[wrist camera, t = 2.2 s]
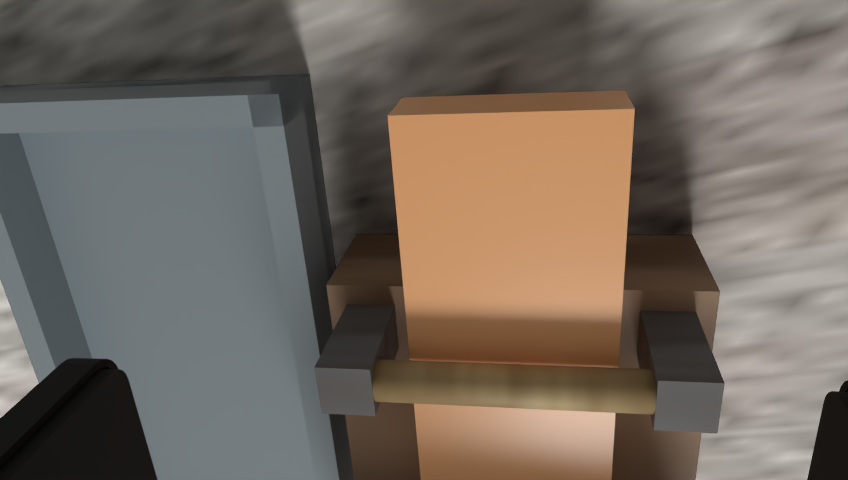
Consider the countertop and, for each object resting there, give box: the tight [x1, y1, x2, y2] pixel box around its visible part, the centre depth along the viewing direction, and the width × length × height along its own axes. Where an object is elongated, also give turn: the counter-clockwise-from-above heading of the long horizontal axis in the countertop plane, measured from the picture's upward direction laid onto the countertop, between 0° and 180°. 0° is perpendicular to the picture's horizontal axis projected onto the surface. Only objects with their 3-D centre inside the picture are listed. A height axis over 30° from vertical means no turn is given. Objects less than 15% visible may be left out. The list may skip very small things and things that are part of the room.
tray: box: [0, 74, 354, 480], centre depth 27 cm, size 22×12×3 cm, turn 4°
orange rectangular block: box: [388, 90, 635, 480], centre depth 21 cm, size 16×6×2 cm, turn 4°
